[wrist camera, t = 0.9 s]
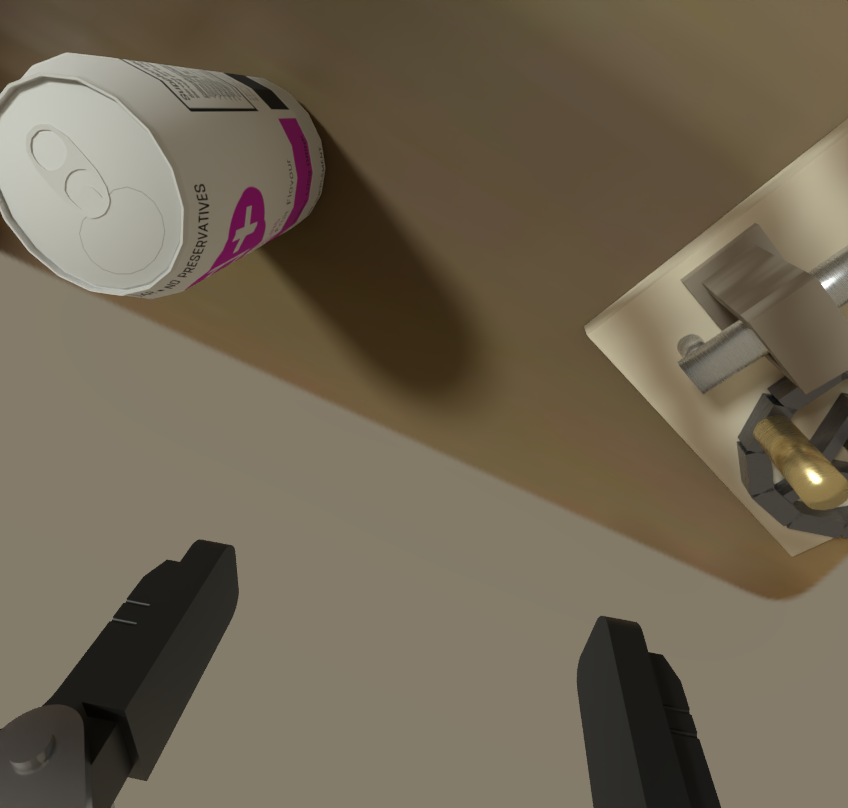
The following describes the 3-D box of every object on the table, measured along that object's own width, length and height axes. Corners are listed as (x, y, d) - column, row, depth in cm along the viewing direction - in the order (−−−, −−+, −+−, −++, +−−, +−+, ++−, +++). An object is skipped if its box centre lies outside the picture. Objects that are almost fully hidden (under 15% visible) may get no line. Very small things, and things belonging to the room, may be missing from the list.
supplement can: (356, 179, 30) (250, 230, 17) (257, 255, 33) (105, 348, 20) (264, 41, 27) (54, -21, 14) (165, 138, 30) (-80, 159, 17)
